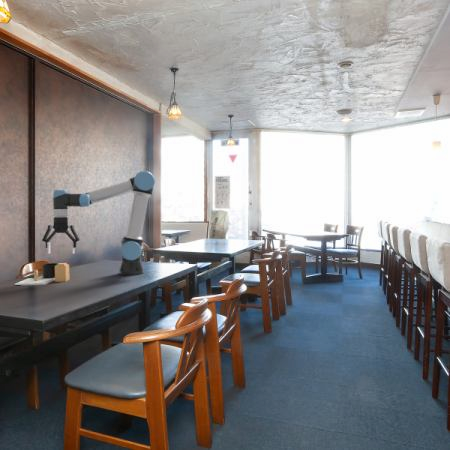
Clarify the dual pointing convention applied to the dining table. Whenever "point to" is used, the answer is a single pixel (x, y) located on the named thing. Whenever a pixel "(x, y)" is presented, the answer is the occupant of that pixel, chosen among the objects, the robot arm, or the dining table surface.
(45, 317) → the dining table surface
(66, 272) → the tan rectangular block
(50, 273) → the mug
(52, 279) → the junction board
